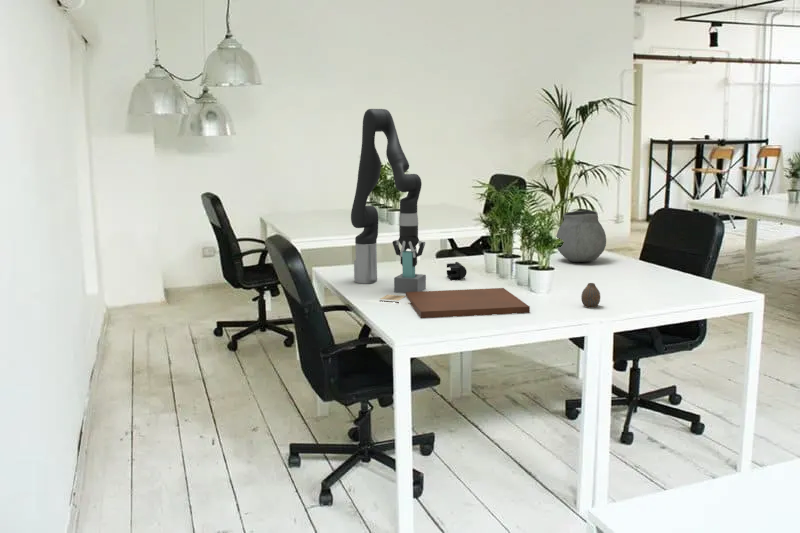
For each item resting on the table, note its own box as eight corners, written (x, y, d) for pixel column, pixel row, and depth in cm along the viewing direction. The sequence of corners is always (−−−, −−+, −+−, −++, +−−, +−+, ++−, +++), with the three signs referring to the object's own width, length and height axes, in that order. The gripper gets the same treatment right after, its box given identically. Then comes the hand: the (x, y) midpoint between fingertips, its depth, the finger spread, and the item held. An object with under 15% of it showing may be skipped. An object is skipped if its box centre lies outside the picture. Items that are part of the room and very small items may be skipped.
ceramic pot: (552, 257, 387) (554, 208, 382) (601, 257, 384) (603, 209, 380) (557, 266, 363) (559, 214, 358) (609, 266, 361) (611, 214, 356)
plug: (402, 283, 306) (402, 252, 303) (406, 282, 309) (405, 250, 307) (411, 284, 304) (411, 252, 302) (415, 282, 308) (415, 251, 306)
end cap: (466, 280, 332) (466, 265, 330) (450, 281, 331) (450, 265, 330) (461, 276, 341) (461, 261, 340) (446, 276, 341) (446, 261, 339)
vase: (588, 303, 286) (589, 280, 285) (603, 306, 281) (604, 283, 279) (577, 306, 282) (578, 283, 280) (592, 309, 277) (593, 286, 275)
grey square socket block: (394, 294, 304) (394, 277, 303) (403, 289, 314) (403, 273, 312) (417, 296, 301) (417, 279, 300) (425, 291, 310) (425, 274, 309)
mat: (379, 301, 293) (379, 298, 293) (387, 297, 300) (387, 294, 300) (398, 302, 290) (398, 300, 290) (406, 298, 297) (406, 296, 297)
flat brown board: (529, 314, 273) (503, 295, 305) (529, 306, 272) (503, 287, 304) (420, 319, 267) (405, 299, 299) (420, 311, 266) (405, 292, 298)
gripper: (388, 224, 301) (389, 266, 305) (422, 225, 296) (422, 268, 299) (395, 222, 308) (396, 263, 311) (428, 223, 303) (428, 265, 306)
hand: (408, 265), depth 305 cm, fingers closed on plug, 4 cm apart
